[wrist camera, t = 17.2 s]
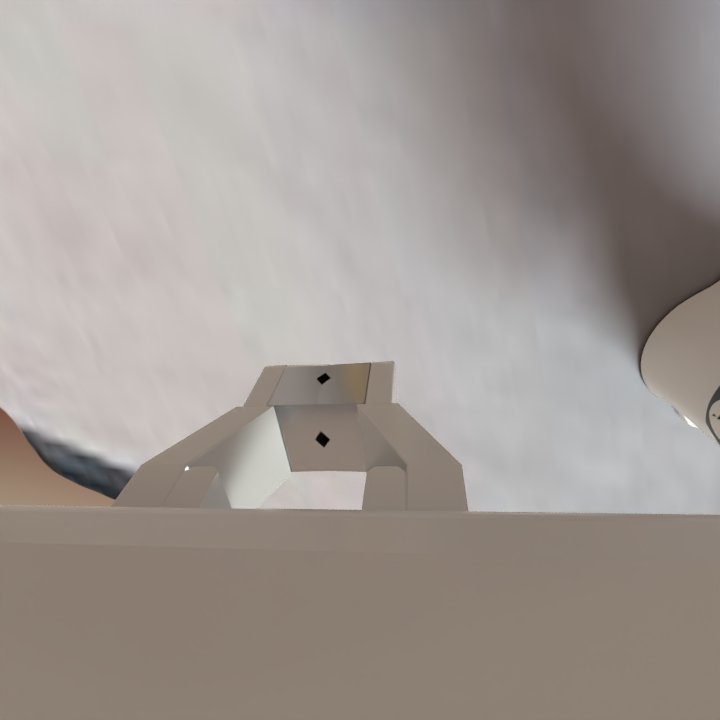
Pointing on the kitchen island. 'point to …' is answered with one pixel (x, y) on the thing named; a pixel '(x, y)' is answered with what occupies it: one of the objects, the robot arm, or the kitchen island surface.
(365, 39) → the kitchen island surface
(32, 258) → the kitchen island surface
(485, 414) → the kitchen island surface
